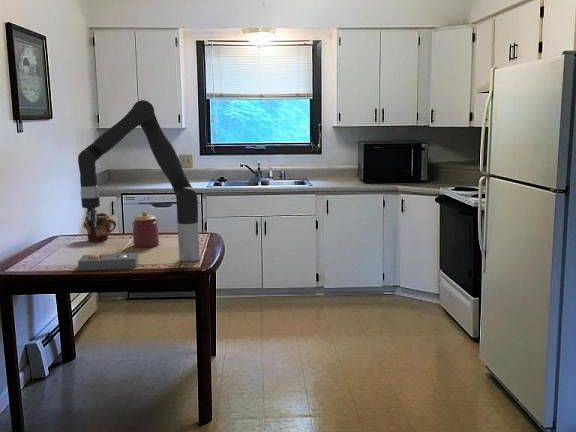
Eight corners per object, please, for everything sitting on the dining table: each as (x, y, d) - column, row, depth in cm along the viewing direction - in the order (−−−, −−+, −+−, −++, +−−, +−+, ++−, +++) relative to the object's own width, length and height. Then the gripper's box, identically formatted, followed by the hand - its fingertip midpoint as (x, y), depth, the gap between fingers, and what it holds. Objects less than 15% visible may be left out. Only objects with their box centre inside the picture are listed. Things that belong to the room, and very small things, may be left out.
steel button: (128, 261, 276) (127, 255, 275) (127, 263, 272) (126, 257, 271) (119, 262, 275) (118, 255, 275) (118, 264, 271) (117, 257, 271)
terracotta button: (100, 261, 274) (100, 254, 274) (99, 263, 270) (98, 256, 270) (91, 261, 273) (90, 254, 273) (89, 263, 270) (89, 257, 269)
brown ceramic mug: (123, 238, 331) (122, 213, 329) (111, 243, 320) (110, 217, 317) (90, 237, 336) (88, 212, 334) (77, 242, 325) (75, 216, 322)
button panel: (138, 261, 281) (137, 252, 280) (135, 267, 269) (135, 258, 268) (83, 263, 277) (83, 255, 276) (78, 270, 265) (78, 261, 265)
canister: (161, 246, 310) (159, 212, 307) (135, 249, 306) (133, 214, 303) (157, 241, 322) (155, 208, 319) (131, 244, 317) (129, 210, 314)
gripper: (96, 197, 261) (100, 238, 264) (101, 193, 274) (104, 232, 277) (78, 198, 260) (81, 239, 263) (83, 194, 273) (87, 233, 276)
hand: (93, 235), depth 270 cm, fingers closed
